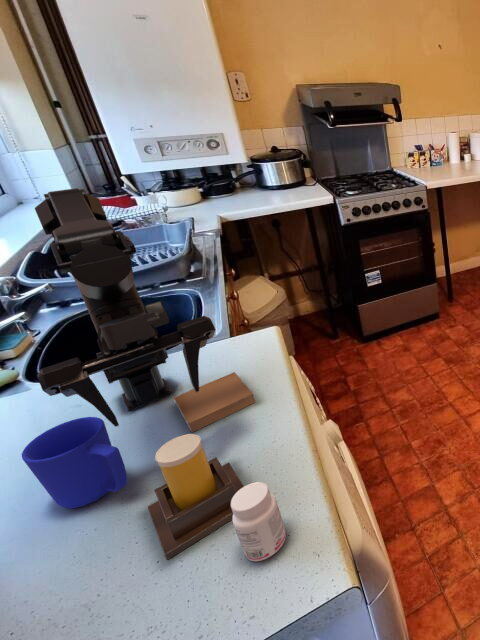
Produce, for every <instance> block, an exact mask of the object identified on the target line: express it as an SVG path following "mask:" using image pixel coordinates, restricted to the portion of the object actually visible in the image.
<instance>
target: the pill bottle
mask: <svg viewBox="0 0 480 640" xmlns="http://www.w3.org/2000/svg"><path fill="white" fill-rule="evenodd" d="M243 486H244V487H243V488H241V489H240V490H239V491H238V492H237V493H236V494H235V495H234V496H233V498H232V500H231V508H232V512H233V518H232V520H231V521H232V525H233V527H234V531H235V533H236V535H237V538H238V541H239V544H240V545H241V549H242V552H243V554H244V556H245V558H246V559H248V561H251V562H261V561H264V560H267V559H268V558H271V557H272V556H274V554H276V553H277V552H278V551H279V550H280V549H281V548H282V546H283V545H284V543H285V541H286V537H287V531H286V527H285V524H284V520H283V517H282V514H281V510H280V507H279V505H278V501H277V499H276V497H275V496H274V495H273V494H272V493H271V491H270V489H269V487H268V484H266V483H265V482H262V481H256V482H255V481H254V482H251V483H248V484H246V485H243Z"/></svg>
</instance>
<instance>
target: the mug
mask: <svg viewBox="0 0 480 640" xmlns="http://www.w3.org/2000/svg"><path fill="white" fill-rule="evenodd" d="M21 458H22V461H23V462H24V463H25V465H26V466H27V467H28V469H29V470H30V471H31V473H32V474H33V475H34V476H35V478H36V479H37V480H38V482H39V483H40V484H41V486H42V487H43V488H44V489H45V491H46V492H47V493H48V495H49V496H50V497H51V499H52V500H53V501H54V502H55V504H57V506H59V507H61V508H65V509H75V508H79V507H80V508H81V507H83V506H86V505H89V504H92V503H93V502H96V501H97V500H99V499H100V498H102V497H104V496H105V495H106V494H107V493H109V492H118V491H121V489H123V488H124V487H125V486H126V485H127V483H128V473H127V470H126V466H125V463H124V460H123V457H122V455H121V452H120V449H119V448H118V447H117V446H115V445H112V443H111V440H110V436H109V433H108V430H107V427H106V424H105V421H104V420H103V419H102V418H101V417H96V416H86V417H84V416H83V417H79V418H74V419H71V420H69V421H68V420H67V421H65V422H62V423H60V424H58V425H55V426H53V427H51V428H49V429H47V430H46V431H44V432H42V433H41V434H39V435H37V436H35V438H34V439H32V440H31V441H30V442H29V443H28V444H27V445H26V446H25V447H24V448H23V451H22V452H21Z"/></svg>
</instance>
